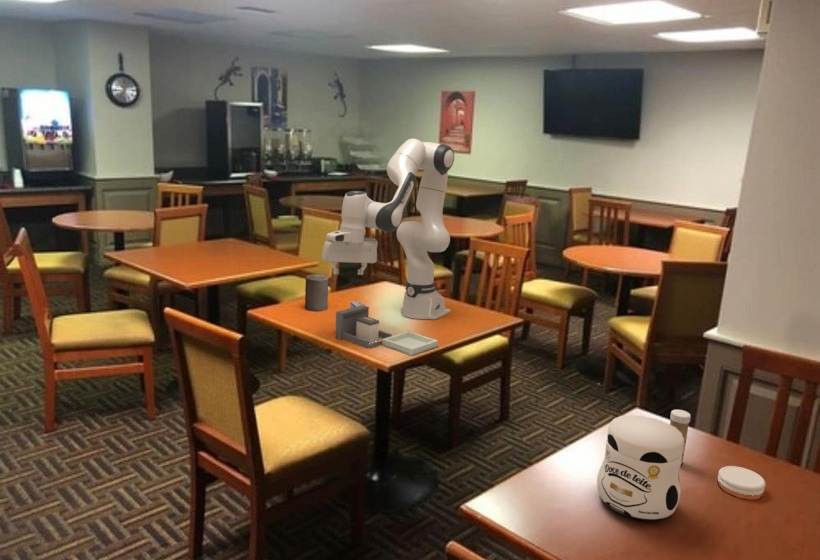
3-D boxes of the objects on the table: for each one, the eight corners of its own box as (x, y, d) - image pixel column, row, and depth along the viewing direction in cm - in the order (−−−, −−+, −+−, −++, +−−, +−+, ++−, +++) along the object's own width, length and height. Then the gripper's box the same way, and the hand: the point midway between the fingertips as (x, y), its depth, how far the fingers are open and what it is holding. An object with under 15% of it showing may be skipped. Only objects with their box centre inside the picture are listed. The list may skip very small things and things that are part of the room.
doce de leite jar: (599, 521, 140) (609, 443, 136) (591, 479, 157) (600, 409, 152) (685, 533, 138) (698, 454, 133) (667, 489, 154) (679, 418, 150)
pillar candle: (300, 309, 280) (301, 274, 276) (312, 303, 289) (313, 270, 285) (320, 313, 276) (321, 278, 273) (332, 307, 285) (333, 273, 282)
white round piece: (767, 504, 150) (770, 490, 149) (720, 496, 153) (722, 482, 152) (758, 482, 160) (760, 469, 159) (713, 475, 162) (715, 462, 161)
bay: (362, 329, 257) (363, 305, 255) (394, 340, 246) (395, 315, 244) (335, 337, 247) (336, 311, 244) (367, 349, 236) (368, 322, 234)
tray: (408, 337, 251) (408, 331, 251) (437, 346, 242) (438, 340, 242) (381, 345, 241) (382, 339, 240) (411, 355, 232) (412, 349, 231)
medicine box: (349, 322, 265) (349, 301, 263) (359, 321, 267) (360, 301, 265) (355, 328, 258) (356, 307, 256) (366, 327, 260) (367, 306, 258)
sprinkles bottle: (682, 468, 164) (691, 418, 161) (663, 464, 166) (671, 414, 163) (682, 460, 168) (690, 411, 165) (663, 455, 170) (671, 407, 167)
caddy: (364, 336, 250) (365, 315, 248) (378, 341, 245) (379, 319, 243) (355, 339, 246) (356, 317, 244) (369, 343, 242) (370, 322, 240)
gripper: (374, 236, 245) (370, 273, 247) (322, 233, 235) (318, 272, 237) (381, 239, 239) (377, 276, 242) (328, 236, 230) (325, 275, 232)
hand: (348, 274), depth 239 cm, fingers open, 8 cm apart
